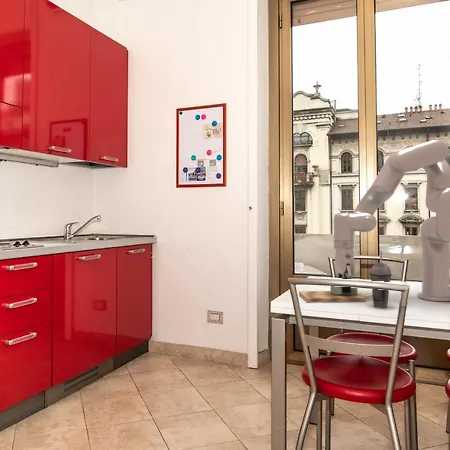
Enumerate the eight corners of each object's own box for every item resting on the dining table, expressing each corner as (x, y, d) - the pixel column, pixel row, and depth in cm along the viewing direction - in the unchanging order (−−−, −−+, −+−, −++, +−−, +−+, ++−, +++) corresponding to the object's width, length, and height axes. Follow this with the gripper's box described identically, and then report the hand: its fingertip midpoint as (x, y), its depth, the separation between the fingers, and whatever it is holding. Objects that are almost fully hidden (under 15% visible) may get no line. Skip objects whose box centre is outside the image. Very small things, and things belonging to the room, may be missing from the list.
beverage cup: (389, 304, 152) (390, 249, 151) (393, 309, 145) (393, 251, 144) (368, 303, 154) (368, 249, 153) (370, 308, 147) (371, 251, 146)
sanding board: (352, 294, 171) (352, 290, 171) (365, 301, 157) (365, 297, 157) (299, 295, 170) (299, 291, 170) (307, 302, 156) (307, 298, 156)
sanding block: (352, 292, 167) (353, 277, 166) (357, 295, 162) (357, 279, 161) (330, 292, 166) (330, 277, 166) (334, 295, 161) (334, 279, 161)
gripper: (361, 246, 155) (361, 295, 156) (346, 243, 172) (346, 287, 173) (341, 246, 155) (341, 296, 155) (327, 243, 172) (328, 287, 172)
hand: (343, 290), depth 164 cm, fingers closed on sanding block, 5 cm apart
